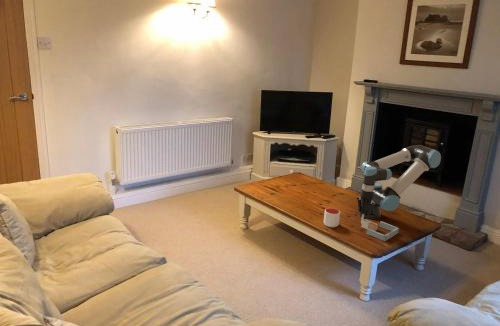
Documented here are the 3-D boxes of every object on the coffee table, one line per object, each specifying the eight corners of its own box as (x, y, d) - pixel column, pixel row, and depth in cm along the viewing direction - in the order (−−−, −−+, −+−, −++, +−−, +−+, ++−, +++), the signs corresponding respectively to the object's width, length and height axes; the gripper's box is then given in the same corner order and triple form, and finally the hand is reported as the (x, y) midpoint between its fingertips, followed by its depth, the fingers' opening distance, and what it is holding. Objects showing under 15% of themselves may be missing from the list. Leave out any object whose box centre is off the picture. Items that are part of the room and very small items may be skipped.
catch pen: (366, 233, 265) (367, 228, 264) (380, 225, 277) (381, 221, 276) (384, 241, 256) (385, 236, 255) (398, 232, 269) (399, 228, 268)
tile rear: (361, 226, 275) (362, 221, 273) (365, 224, 278) (365, 219, 276) (367, 229, 271) (368, 223, 270) (371, 227, 274) (371, 221, 273)
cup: (336, 221, 281) (338, 208, 278) (340, 228, 271) (341, 214, 268) (322, 221, 280) (323, 207, 277) (325, 227, 271) (326, 213, 268)
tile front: (367, 229, 272) (368, 223, 270) (371, 227, 275) (372, 221, 273) (373, 231, 269) (374, 226, 267) (377, 229, 272) (378, 224, 270)
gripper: (356, 188, 271) (351, 220, 278) (373, 194, 262) (368, 227, 269) (362, 185, 276) (357, 217, 283) (379, 191, 267) (374, 224, 274)
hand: (362, 222), depth 276 cm, fingers closed
